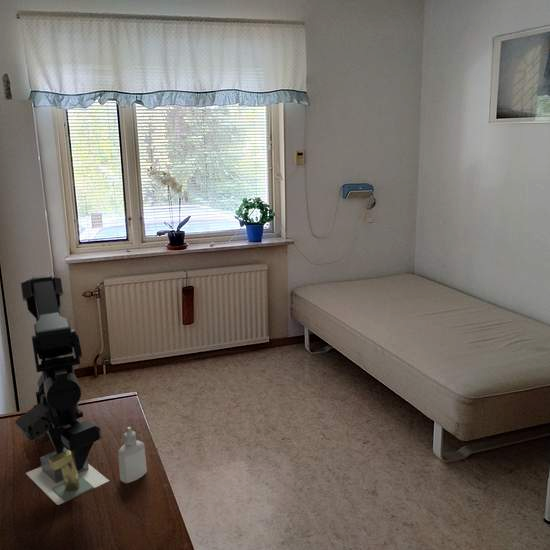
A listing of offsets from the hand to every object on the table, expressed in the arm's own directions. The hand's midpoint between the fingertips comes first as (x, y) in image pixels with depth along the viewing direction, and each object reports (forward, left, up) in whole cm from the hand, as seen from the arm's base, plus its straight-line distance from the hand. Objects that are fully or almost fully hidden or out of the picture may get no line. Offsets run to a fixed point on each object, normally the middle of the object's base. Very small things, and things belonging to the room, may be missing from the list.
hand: (69, 461), depth 112 cm
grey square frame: (-8, +2, -6) cm, 10 cm away
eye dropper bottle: (+5, +11, -7) cm, 14 cm away
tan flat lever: (0, 0, -6) cm, 6 cm away
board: (-5, +1, -7) cm, 9 cm away
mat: (0, 0, -6) cm, 6 cm away
